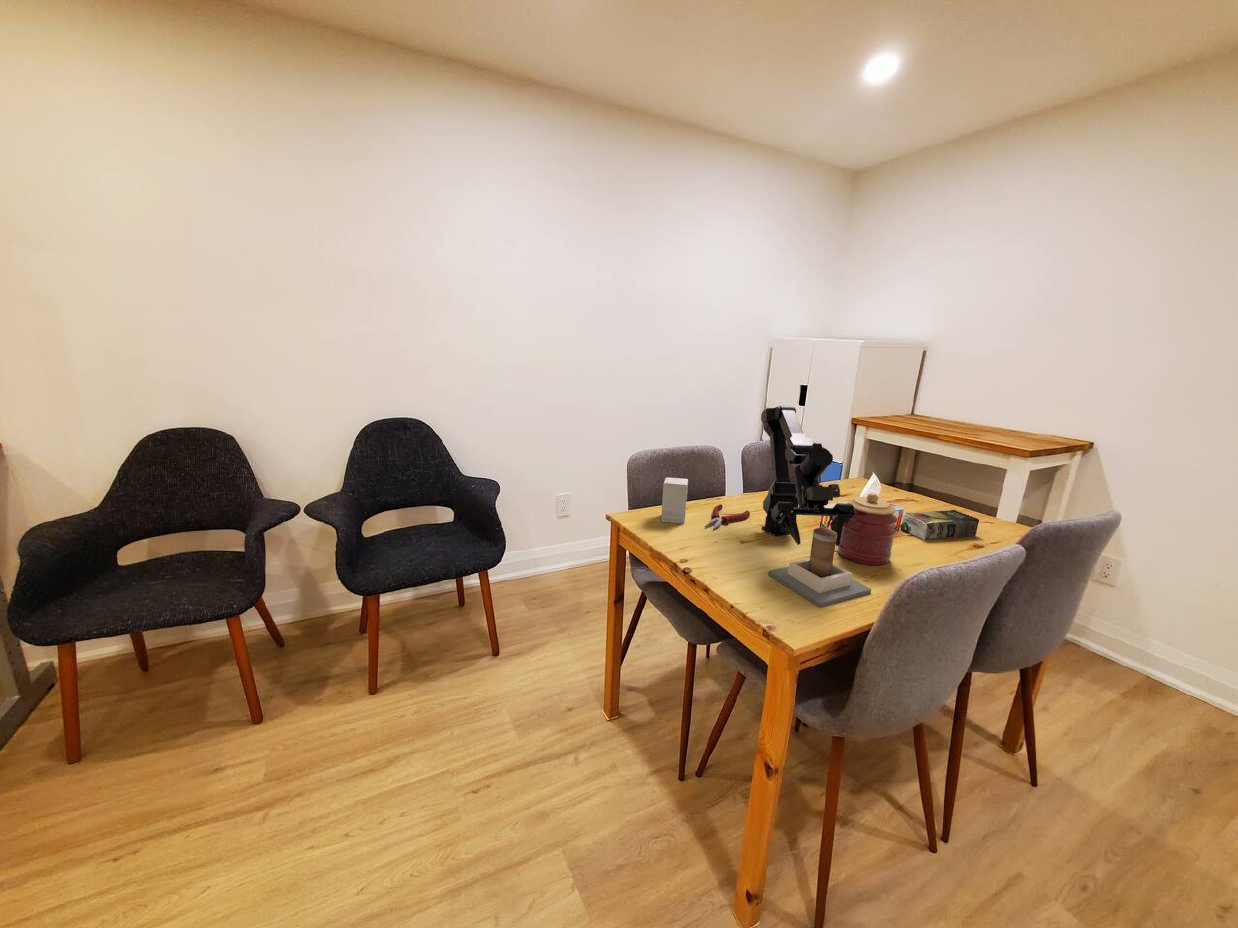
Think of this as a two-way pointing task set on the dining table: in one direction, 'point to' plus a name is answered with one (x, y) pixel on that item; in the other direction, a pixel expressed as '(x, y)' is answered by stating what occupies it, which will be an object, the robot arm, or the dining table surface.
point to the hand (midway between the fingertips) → (818, 544)
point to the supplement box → (674, 500)
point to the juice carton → (939, 524)
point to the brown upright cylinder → (822, 552)
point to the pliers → (725, 517)
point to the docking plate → (819, 583)
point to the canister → (868, 531)
